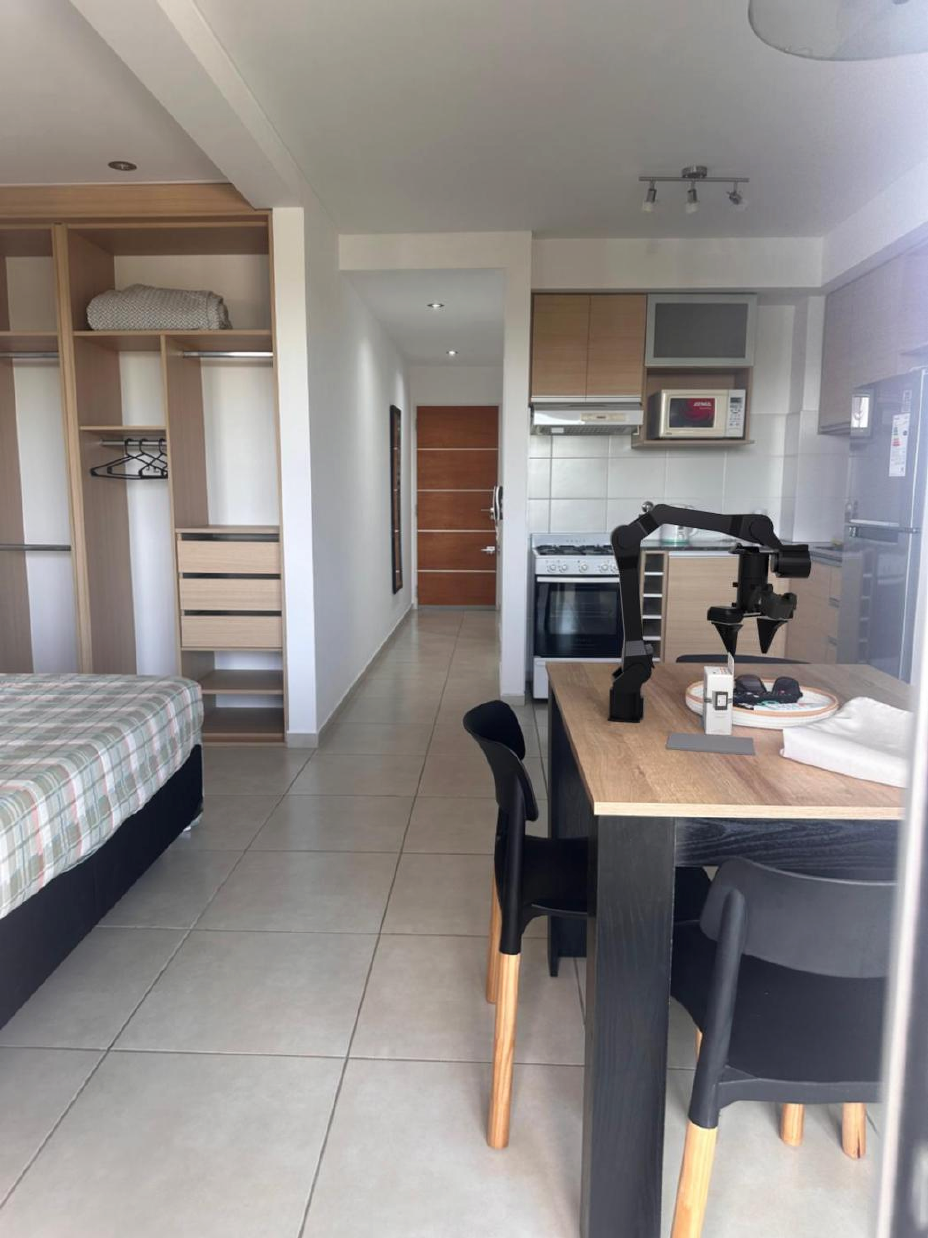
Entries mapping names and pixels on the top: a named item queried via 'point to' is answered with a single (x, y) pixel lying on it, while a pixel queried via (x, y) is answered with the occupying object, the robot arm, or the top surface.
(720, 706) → the ink box
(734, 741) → the mat
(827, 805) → the top surface
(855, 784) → the top surface
